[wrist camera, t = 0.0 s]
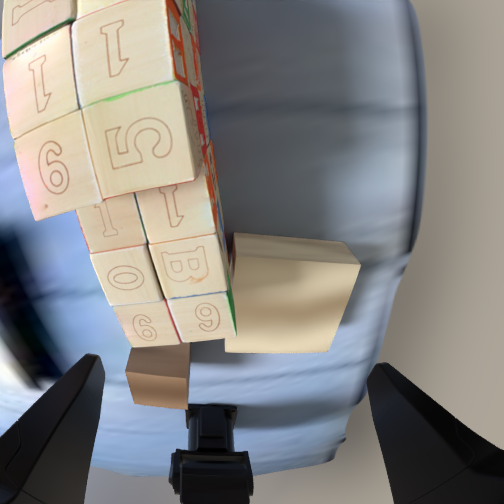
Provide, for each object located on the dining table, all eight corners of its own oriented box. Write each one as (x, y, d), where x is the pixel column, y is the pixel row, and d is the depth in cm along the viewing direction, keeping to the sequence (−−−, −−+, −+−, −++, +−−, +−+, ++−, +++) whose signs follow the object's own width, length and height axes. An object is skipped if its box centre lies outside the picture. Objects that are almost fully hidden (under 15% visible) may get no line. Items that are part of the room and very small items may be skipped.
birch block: (316, 322, 28) (327, 352, 24) (224, 320, 27) (225, 352, 23) (342, 240, 24) (361, 264, 20) (233, 230, 22) (236, 256, 19)
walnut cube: (190, 362, 29) (187, 409, 23) (143, 357, 28) (134, 403, 23) (190, 327, 26) (186, 378, 21) (138, 322, 26) (125, 371, 20)
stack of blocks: (231, 255, 23) (241, 385, 12) (155, 266, 23) (117, 391, 12) (193, -18, 13) (168, -122, 2) (108, 4, 13) (13, -57, 2)
